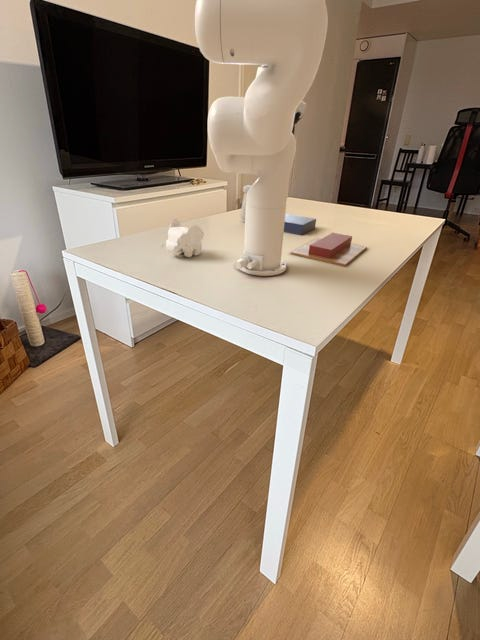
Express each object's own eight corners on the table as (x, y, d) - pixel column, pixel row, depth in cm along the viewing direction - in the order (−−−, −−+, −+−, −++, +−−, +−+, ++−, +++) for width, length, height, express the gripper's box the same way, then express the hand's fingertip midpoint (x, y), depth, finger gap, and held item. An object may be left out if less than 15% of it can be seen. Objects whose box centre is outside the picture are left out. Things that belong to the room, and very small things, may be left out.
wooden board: (345, 266, 91) (345, 264, 91) (290, 254, 98) (291, 252, 98) (366, 248, 106) (366, 246, 105) (317, 239, 113) (318, 237, 113)
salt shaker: (253, 224, 129) (255, 187, 122) (238, 222, 129) (239, 186, 123) (255, 220, 134) (257, 185, 127) (241, 219, 134) (242, 184, 128)
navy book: (301, 235, 117) (302, 224, 115) (258, 226, 125) (259, 217, 123) (315, 228, 126) (316, 218, 124) (274, 221, 134) (275, 212, 132)
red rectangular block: (330, 258, 94) (331, 249, 93) (308, 253, 97) (309, 245, 96) (350, 244, 107) (352, 236, 106) (331, 240, 110) (332, 232, 109)
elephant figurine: (155, 255, 94) (152, 222, 89) (189, 246, 101) (188, 216, 97) (177, 264, 88) (175, 229, 84) (211, 254, 96) (211, 222, 91)
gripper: (238, 60, 82) (236, 140, 90) (304, 55, 74) (295, 143, 82) (254, 65, 87) (251, 140, 96) (317, 60, 79) (308, 143, 88)
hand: (271, 142), depth 89 cm, fingers open, 9 cm apart
